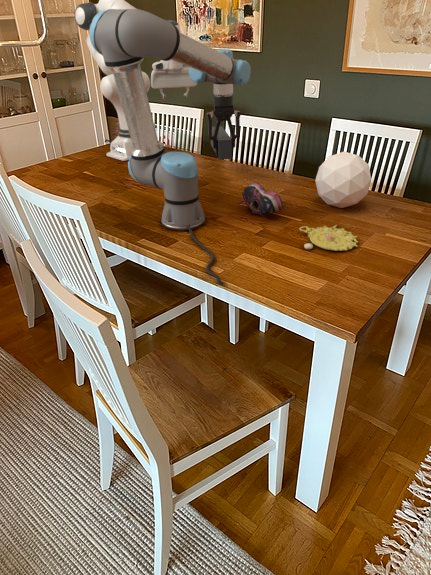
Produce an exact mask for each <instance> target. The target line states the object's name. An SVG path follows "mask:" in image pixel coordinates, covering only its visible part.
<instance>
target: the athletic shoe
mask: <svg viewBox="0 0 431 575" xmlns="http://www.w3.org/2000/svg"><path fill="white" fill-rule="evenodd" d="M241 197H242V199H243V201H238V203H239V204H241V205H245V206H246V207H247V208H248V210H249V211H250V210H251V213H252V214H255V215H260V217H266V216H267V215H270V214H274V213H275V212H279V211H282V210H283V209H284V205H283V201H282V198H281V196H280V195H279V194H278V192H277V191H274V190H269V191H267V190H266V189H265V187H264V186H263V185H262V184H261V183H258V182H251V183H249V184H247V186H246V187H245V188H244V190H243V191H242V192H241Z"/></svg>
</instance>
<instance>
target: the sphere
mask: <svg viewBox="0 0 431 575" xmlns="http://www.w3.org/2000/svg"><path fill="white" fill-rule="evenodd" d="M314 181H315V186H316V189H317V190H316V191H317V195H318V196H319V197H320V199H322V201H324V202H325V203H326V205H329V206H332V207H336V208H340V209H344V208H347V207H351V206H354V205H357V204H359V202H360V201H361V200H362V199H364V198H365V197H366V196H367V195H368V193H369V190H370V186H371V182H372V176H371V170H370V164H368V163H367V162H366V161H365V160H364V159H363V158H362V157H361V156H360V155H358V154H355V153H351V152H347V151H341V152H338V153H335V154H331V155H329V156H328V157H327V158H326V159H325V160H324V161H323V162H322V163H321V165H319V166H318V170H317V173H316V176H315V180H314Z"/></svg>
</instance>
